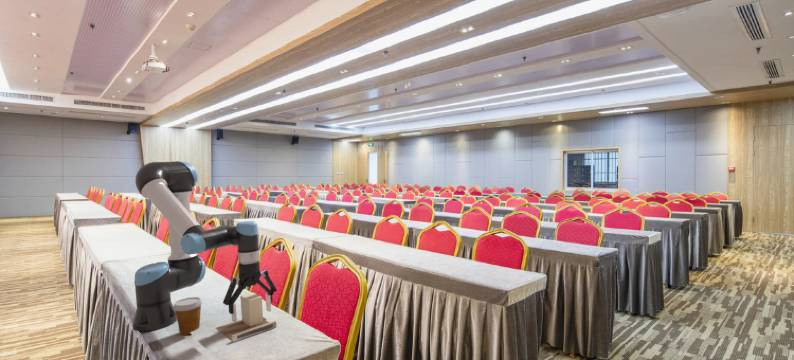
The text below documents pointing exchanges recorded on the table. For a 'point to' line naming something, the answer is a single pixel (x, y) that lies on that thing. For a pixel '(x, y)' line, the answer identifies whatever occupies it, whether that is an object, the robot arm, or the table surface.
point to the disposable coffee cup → (188, 314)
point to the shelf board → (244, 329)
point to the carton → (251, 309)
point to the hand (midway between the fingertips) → (252, 315)
